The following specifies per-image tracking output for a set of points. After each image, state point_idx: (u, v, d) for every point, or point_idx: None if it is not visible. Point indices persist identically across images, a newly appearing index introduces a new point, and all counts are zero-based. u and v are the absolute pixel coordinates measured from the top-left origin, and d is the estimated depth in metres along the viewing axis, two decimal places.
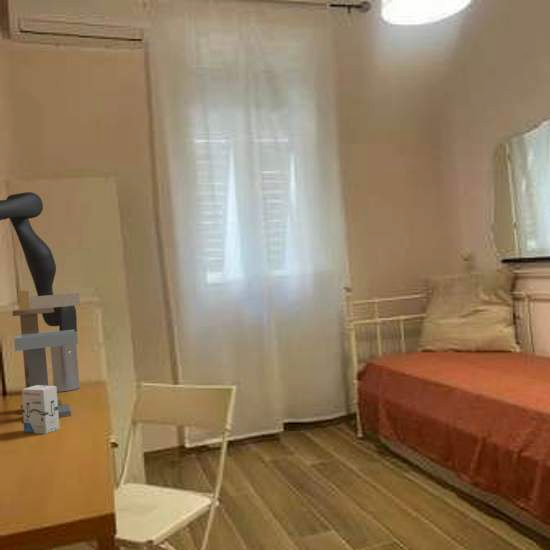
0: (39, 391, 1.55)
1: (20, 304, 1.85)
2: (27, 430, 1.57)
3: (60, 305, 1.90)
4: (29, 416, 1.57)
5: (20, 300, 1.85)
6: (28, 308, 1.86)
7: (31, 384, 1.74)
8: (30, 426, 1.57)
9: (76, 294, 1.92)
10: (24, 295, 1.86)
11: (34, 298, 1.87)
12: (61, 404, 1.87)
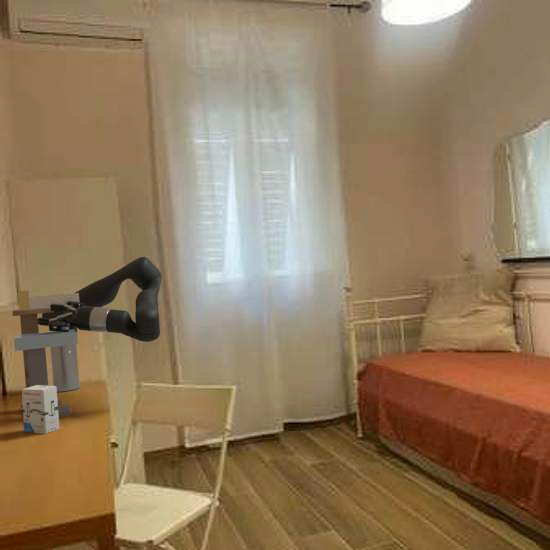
0: (39, 390, 1.55)
1: (20, 304, 1.85)
2: (27, 430, 1.57)
3: None
4: (29, 416, 1.57)
5: (20, 300, 1.85)
6: (28, 308, 1.86)
7: (31, 384, 1.74)
8: (30, 426, 1.57)
9: (76, 294, 1.92)
10: (24, 295, 1.86)
11: (34, 298, 1.87)
12: (61, 404, 1.87)
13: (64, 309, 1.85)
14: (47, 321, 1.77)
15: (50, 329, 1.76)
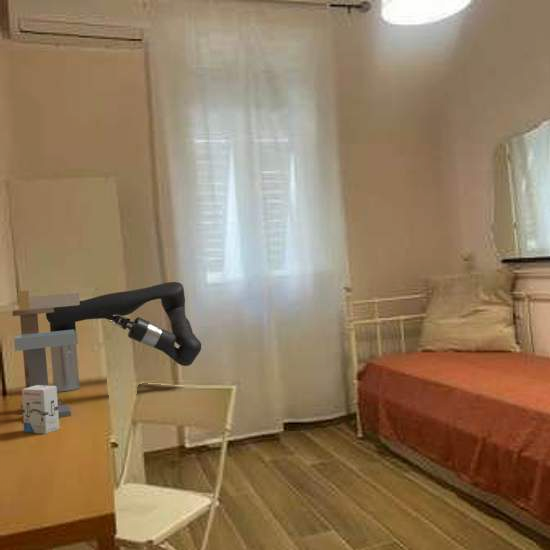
0: (39, 391, 1.55)
1: (20, 304, 1.85)
2: (27, 430, 1.57)
3: (60, 305, 1.90)
4: (29, 416, 1.57)
5: (20, 300, 1.85)
6: (28, 308, 1.86)
7: (31, 384, 1.74)
8: (30, 426, 1.57)
9: (76, 294, 1.92)
10: (24, 295, 1.86)
11: (34, 298, 1.87)
12: (61, 404, 1.87)
13: None
14: (113, 315, 1.93)
15: (116, 321, 1.91)
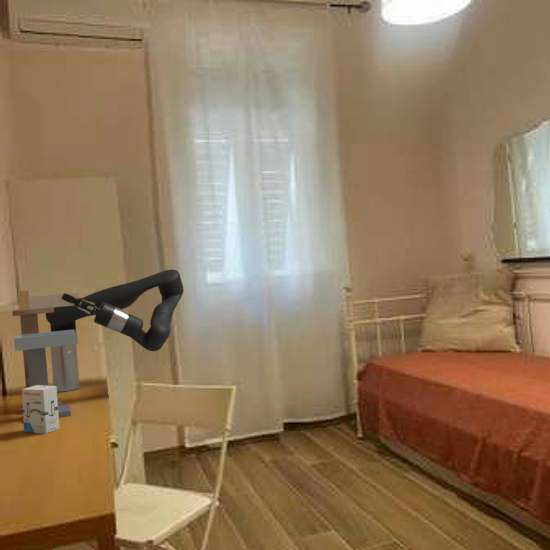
0: (39, 390, 1.55)
1: (20, 304, 1.85)
2: (27, 430, 1.57)
3: (60, 305, 1.90)
4: (29, 416, 1.57)
5: (20, 300, 1.85)
6: (28, 308, 1.86)
7: (31, 384, 1.74)
8: (30, 426, 1.57)
9: (76, 294, 1.92)
10: (24, 295, 1.86)
11: (34, 298, 1.87)
12: (61, 404, 1.87)
13: None
14: (73, 298, 1.91)
15: (76, 304, 1.89)
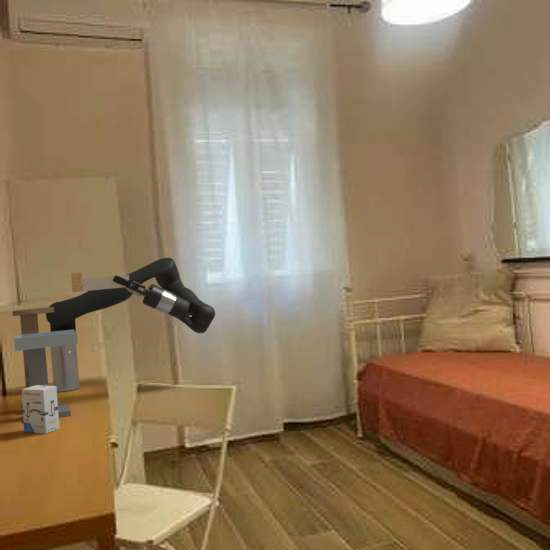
0: (39, 391, 1.55)
1: (74, 286, 1.90)
2: (27, 430, 1.57)
3: (111, 287, 1.95)
4: (29, 416, 1.57)
5: (74, 282, 1.90)
6: (81, 289, 1.91)
7: (31, 384, 1.74)
8: (30, 426, 1.57)
9: (126, 276, 1.97)
10: (77, 276, 1.91)
11: (87, 280, 1.93)
12: (61, 404, 1.87)
13: None
14: (124, 280, 1.96)
15: (127, 285, 1.94)
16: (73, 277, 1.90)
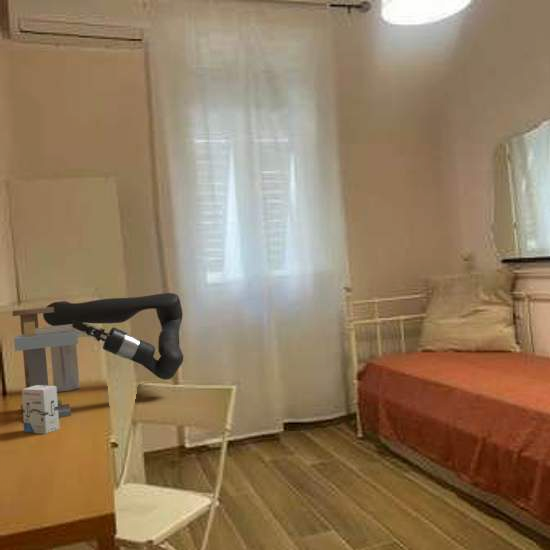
0: (39, 391, 1.55)
1: None
2: (27, 430, 1.57)
3: None
4: (29, 416, 1.57)
5: (26, 332, 1.73)
6: None
7: (31, 384, 1.74)
8: (30, 426, 1.57)
9: None
10: (30, 326, 1.74)
11: (41, 330, 1.76)
12: (61, 404, 1.87)
13: None
14: (85, 326, 1.77)
15: (89, 333, 1.76)
16: (25, 327, 1.73)
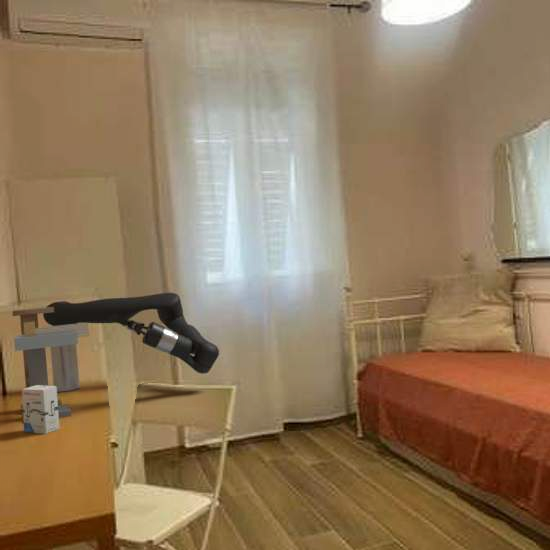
0: (39, 391, 1.55)
1: None
2: (27, 430, 1.57)
3: None
4: (29, 416, 1.57)
5: (26, 332, 1.73)
6: None
7: (31, 384, 1.74)
8: (30, 426, 1.57)
9: (85, 325, 1.80)
10: (30, 326, 1.74)
11: (41, 330, 1.76)
12: (61, 404, 1.87)
13: None
14: (126, 320, 1.82)
15: (130, 326, 1.81)
16: (25, 327, 1.73)
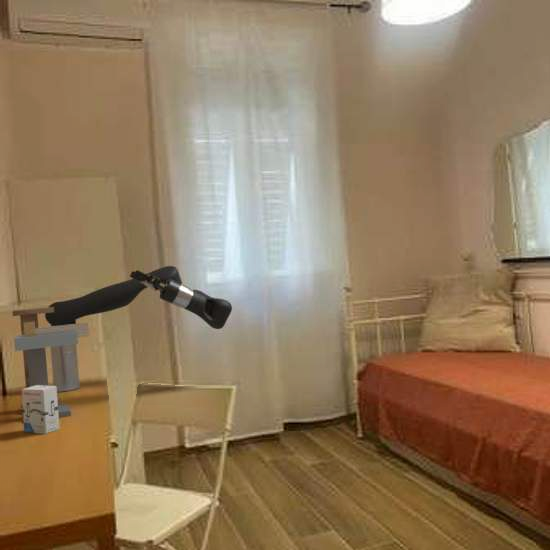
0: (39, 390, 1.55)
1: None
2: (27, 430, 1.57)
3: None
4: (29, 416, 1.57)
5: (26, 332, 1.73)
6: None
7: (31, 384, 1.74)
8: (30, 426, 1.57)
9: (85, 325, 1.80)
10: (30, 326, 1.74)
11: (41, 330, 1.76)
12: (61, 404, 1.87)
13: (142, 279, 2.01)
14: (145, 275, 1.93)
15: (149, 281, 1.91)
16: (25, 327, 1.73)
